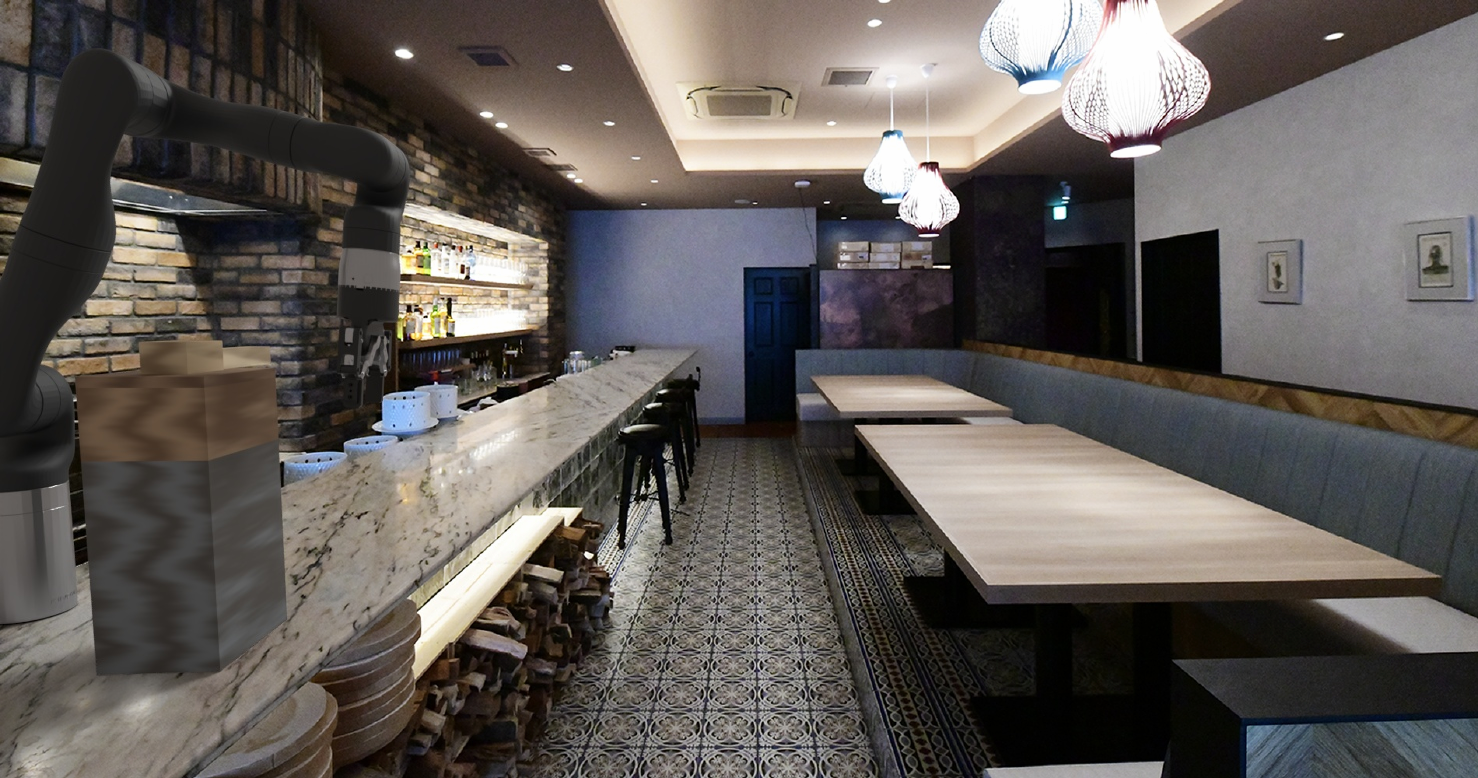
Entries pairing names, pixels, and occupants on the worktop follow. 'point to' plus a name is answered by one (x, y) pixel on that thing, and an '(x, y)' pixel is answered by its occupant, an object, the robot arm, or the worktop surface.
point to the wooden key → (197, 356)
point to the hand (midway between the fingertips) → (363, 405)
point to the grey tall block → (181, 517)
